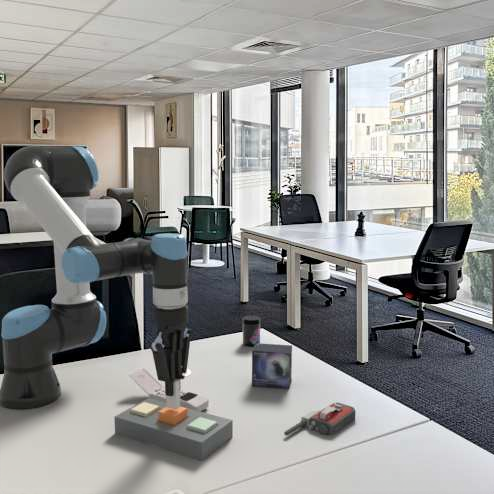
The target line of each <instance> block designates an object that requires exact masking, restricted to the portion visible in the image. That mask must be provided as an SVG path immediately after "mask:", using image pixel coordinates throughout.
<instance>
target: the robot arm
mask: <svg viewBox="0 0 494 494" xmlns="http://www.w3.org/2000/svg"><path fill="white" fill-rule="evenodd" d="M3 180H4V183H5V187H6V189H7V191H8V193H10V195H11V197H13V199H14V200H16V201H17V202H19V203H23V205H24V206H25V207H26V208H27V210H28V211H29V212H30V214H31V215H32V216H33V217H34V218H35V220H36V221H37V223H38V224H39V225H40V226H41V227H42V229H43V230H44V232H45V233H46V234H47V235H48V237H49V238H50V239H51V240H52V241H53V254H54V269H55V280H56V281H55V282H56V283H55V284H56V294H55V296H54V297H53V298H51V308H49V306H47V305H44V304H34V305H25V306H22V307H19V308H15V309H12V310H10V311H9V312H7V313H6V314H5V315H4V317H3V318H2V320H1V332H0V333H1V334H0V336H1V340H2V353H3V366H4V367H3V368H4V374H3V377H2V380H1V383H0V384H1V385H0V405H1V406H2V407H4V408H8V409H12V410H13V409H14V410H15V409H16V410H17V409H18V410H27V409H32V408H33V409H34V408H38V407H42V406H45V405H48V404H51V403H53V402H54V401H56V400H57V399H59V397H60V396H61V394H62V393H61V391H62V390H61V383H60V381H59V379H58V376H57V374H56V372H55V369H54V367H53V356H52V355H53V354H56V353H60V352H65V351H68V350H72V349H76V348H79V347H80V348H81V347H82V348H83V347H87V346H89V345H90V344H95V343H97V342H98V341H99V340H101V338H102V337H103V336H104V334H105V331H106V328H107V313H106V311H105V308H104V305H103V304H102V303H101V302H100V301H99V300H97V296H96V295H95V294H94V293H92V291H91V288H90V287H91V285H90V283H93V282H95V281H101V280H107V279H113V278H118V277H124V276H130V275H131V276H132V275H137V274H146V275H150V276H151V277H152V304H153V305H154V307H153V322H154V324H155V325H156V326H157V330H156V339H155V340H154V341H150V342H149V343H148V346H149V350H151V352H152V357H153V361H154V365H155V371H156V376H157V381H159V382H164V387H165V394H166V405H167V408H170V409H174V410H177V409H179V408H180V391H181V390H182V389H181V380H184V379H185V378H186V377H185V376H184V375H185V374H187V369H188V362H189V354H190V345H191V344H190V343H191V339H192V336H193V333H194V332H193V331H194V330H193V329H189V328H187V326H186V324H187V323H188V322H189V306H188V305H187V304H188V302H189V299H188V298H189V297H188V295H189V294H188V292H189V291H188V255H189V253H188V250H187V249H188V248H187V247H188V246H187V239H186V236H185V235H183V234H181V233H171V232H168V233H164V232H163V233H157V234H154V235H152V237H151V240H149V239H145V238H141V237H136V238H135V237H128V238H125V239H124V240H122V241H118V242H109V243H108V242H107V243H100V242H99V241H98V240H97V238H96V237H95V236H94V235H93V234H92V232H91V231H90V230H89V229H88V227H87V218H86V217H87V216H86V203H87V202H88V200H89V199H90V198H91V191H92V190H93V189H95V188H96V186H97V185H98V181H99V169H98V165H97V162H96V159H95V158H94V156H93V154H92V153H91V152H90V151H89V150H88V149H87V148H85V147H81V146H73V145H29V146H23V147H22V148H20V149H18V150H16V151H15V152H14V153H13V154H11V156H9V158H8V160H7V161H6V165H5V167H4V171H3ZM183 374H184V375H183Z"/></svg>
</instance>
